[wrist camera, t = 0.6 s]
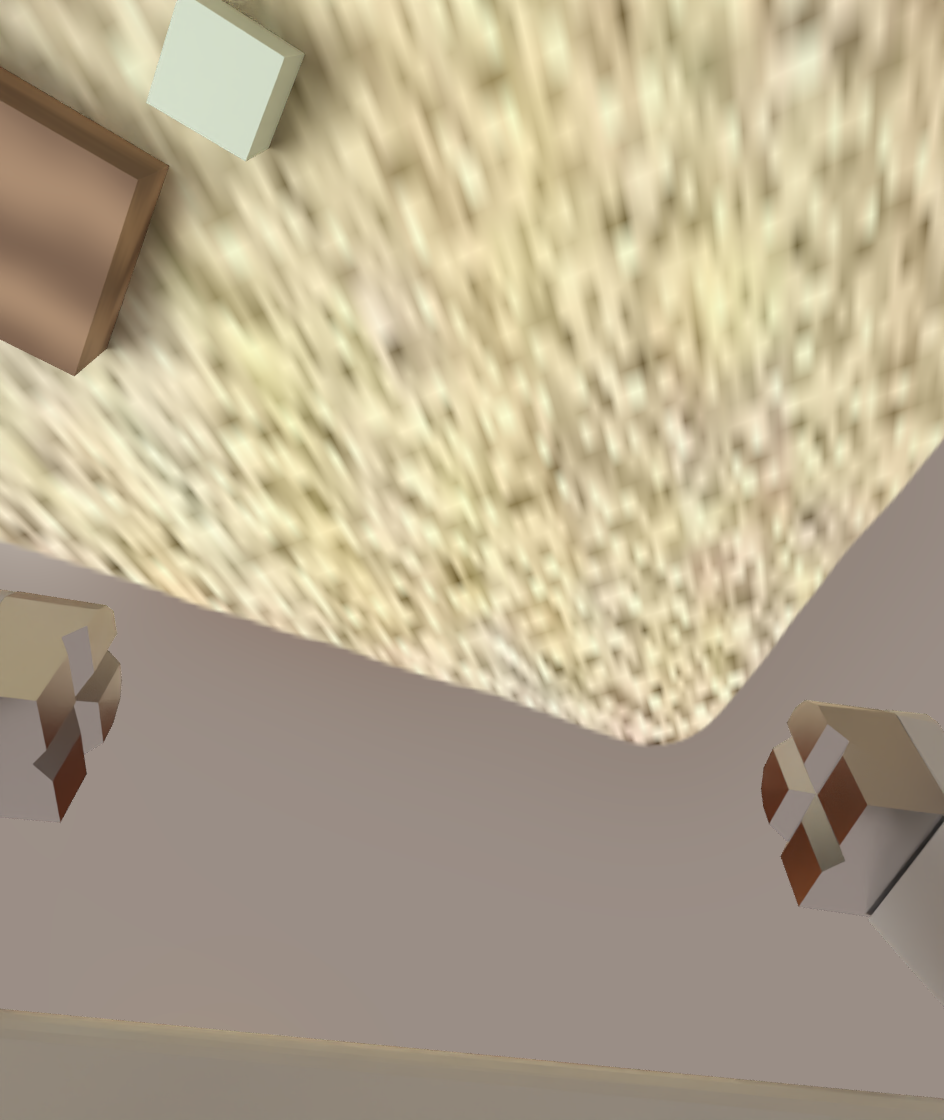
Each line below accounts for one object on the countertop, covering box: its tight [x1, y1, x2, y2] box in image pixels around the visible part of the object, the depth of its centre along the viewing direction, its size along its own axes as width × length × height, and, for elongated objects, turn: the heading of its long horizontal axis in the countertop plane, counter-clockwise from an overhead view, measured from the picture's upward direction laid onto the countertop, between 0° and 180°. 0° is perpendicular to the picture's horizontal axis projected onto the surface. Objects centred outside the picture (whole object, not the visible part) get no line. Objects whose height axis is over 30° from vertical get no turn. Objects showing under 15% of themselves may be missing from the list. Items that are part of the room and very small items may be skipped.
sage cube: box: [146, 0, 305, 161], centre depth 39 cm, size 5×5×5 cm
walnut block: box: [0, 67, 169, 376], centre depth 43 cm, size 12×12×5 cm
